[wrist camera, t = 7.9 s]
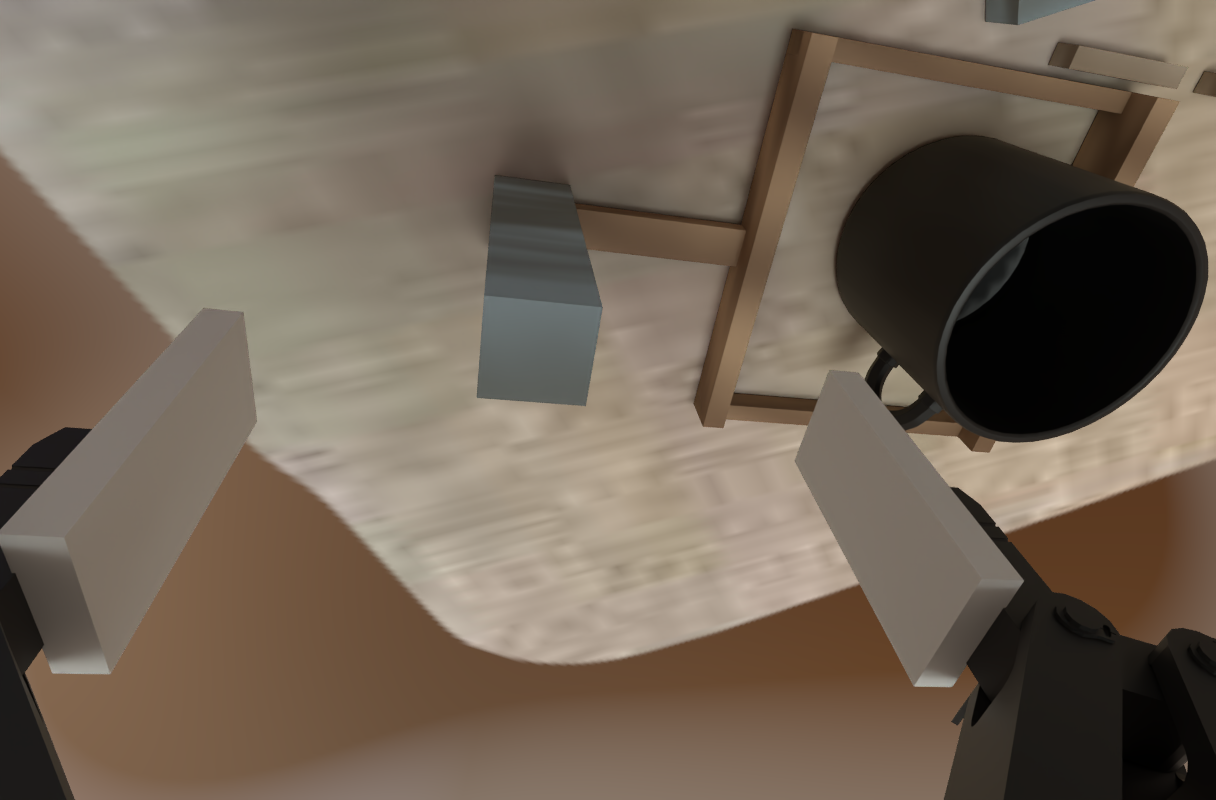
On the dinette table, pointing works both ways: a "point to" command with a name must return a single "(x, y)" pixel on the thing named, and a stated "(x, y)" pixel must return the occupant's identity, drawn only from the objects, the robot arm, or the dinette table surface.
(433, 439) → the dinette table surface
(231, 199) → the dinette table surface
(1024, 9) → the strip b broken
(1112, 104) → the wooden frame with post
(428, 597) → the dinette table surface
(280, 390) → the dinette table surface
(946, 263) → the mug
